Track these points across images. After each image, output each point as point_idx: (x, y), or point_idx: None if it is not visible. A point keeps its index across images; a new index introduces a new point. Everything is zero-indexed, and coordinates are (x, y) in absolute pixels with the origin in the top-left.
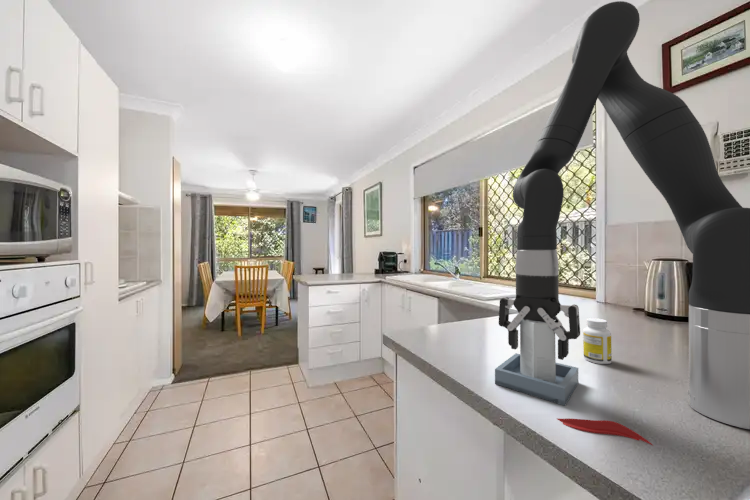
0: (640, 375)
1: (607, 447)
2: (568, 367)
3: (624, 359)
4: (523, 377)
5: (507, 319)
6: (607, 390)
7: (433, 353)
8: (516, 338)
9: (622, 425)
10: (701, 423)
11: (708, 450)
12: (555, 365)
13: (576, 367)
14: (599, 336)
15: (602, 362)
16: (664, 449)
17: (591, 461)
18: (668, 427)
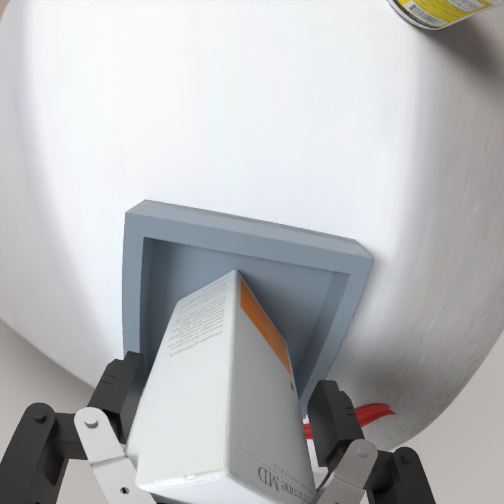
0: (495, 95)
1: None
2: (341, 271)
3: None
4: None
5: (50, 442)
6: (414, 253)
7: None
8: (132, 400)
9: (373, 420)
10: (492, 312)
11: (451, 383)
12: (294, 383)
13: (368, 259)
14: (487, 1)
15: (433, 29)
16: (403, 413)
17: None
18: (444, 357)
